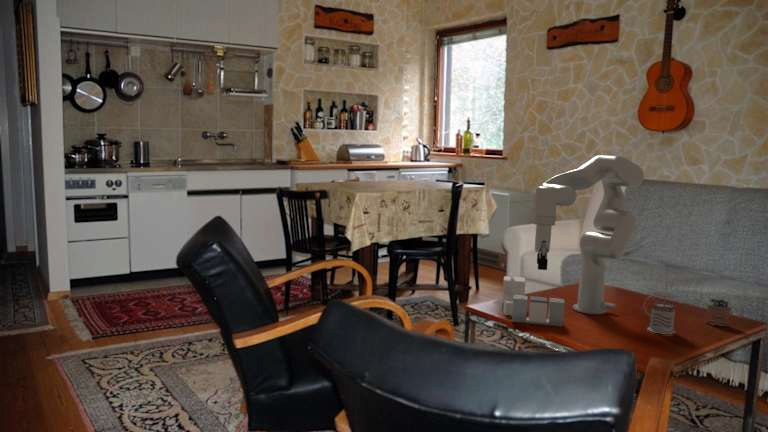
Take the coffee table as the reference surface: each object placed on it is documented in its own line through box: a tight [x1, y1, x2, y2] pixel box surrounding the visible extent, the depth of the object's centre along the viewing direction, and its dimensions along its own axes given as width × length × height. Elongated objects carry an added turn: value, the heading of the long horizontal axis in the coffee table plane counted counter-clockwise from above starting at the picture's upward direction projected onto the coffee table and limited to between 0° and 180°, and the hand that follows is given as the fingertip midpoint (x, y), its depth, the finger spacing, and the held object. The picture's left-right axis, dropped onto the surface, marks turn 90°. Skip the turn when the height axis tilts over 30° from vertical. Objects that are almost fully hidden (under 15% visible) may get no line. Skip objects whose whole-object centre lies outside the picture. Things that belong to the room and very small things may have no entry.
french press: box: [643, 262, 678, 334], centre depth 231 cm, size 10×12×25 cm
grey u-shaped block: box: [511, 294, 565, 328], centre depth 235 cm, size 18×6×9 cm, turn 78°
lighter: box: [705, 298, 732, 326], centre depth 242 cm, size 8×3×10 cm, turn 71°
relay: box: [502, 300, 513, 317], centre depth 245 cm, size 4×4×5 cm
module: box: [528, 295, 548, 323], centre depth 235 cm, size 6×6×8 cm
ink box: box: [501, 272, 526, 310], centre depth 255 cm, size 9×8×13 cm
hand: (541, 266), depth 235 cm, fingers open, 9 cm apart
